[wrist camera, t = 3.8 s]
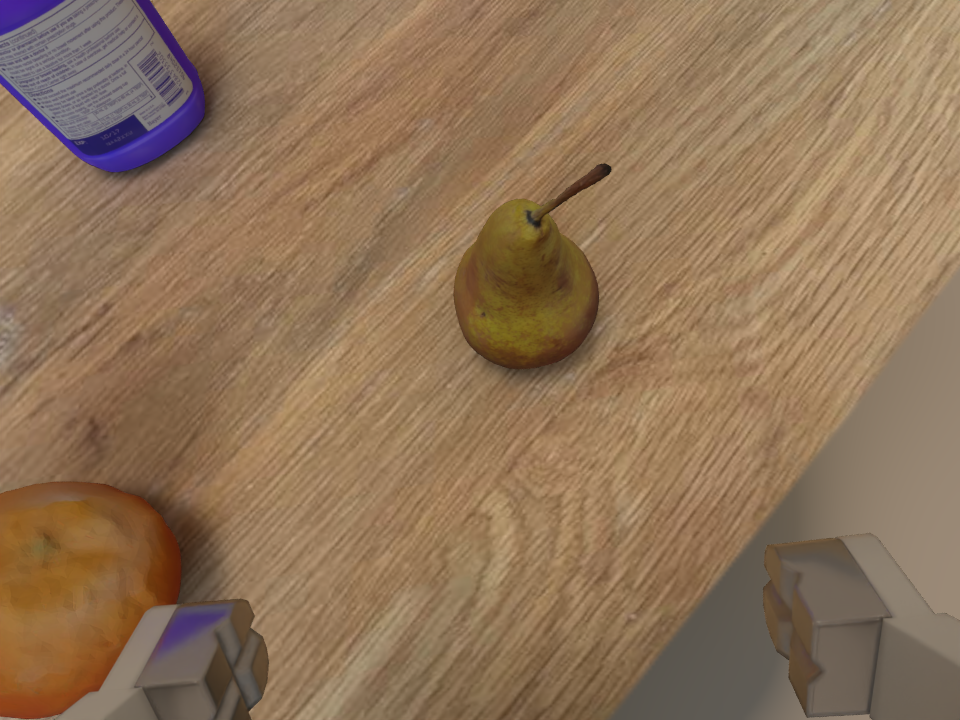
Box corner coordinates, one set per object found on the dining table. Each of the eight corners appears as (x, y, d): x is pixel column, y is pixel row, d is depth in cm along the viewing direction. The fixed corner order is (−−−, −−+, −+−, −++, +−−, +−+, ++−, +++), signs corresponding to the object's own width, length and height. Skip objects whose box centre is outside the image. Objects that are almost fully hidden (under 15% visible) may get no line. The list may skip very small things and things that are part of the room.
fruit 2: (528, 239, 31) (512, 35, 20) (622, 327, 30) (660, 156, 18) (434, 320, 31) (360, 155, 19) (523, 415, 29) (500, 293, 18)
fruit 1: (-81, 671, 26) (-178, 565, 21) (103, 526, 32) (65, 412, 26) (65, 812, 24) (1, 735, 19) (237, 631, 30) (226, 531, 24)
